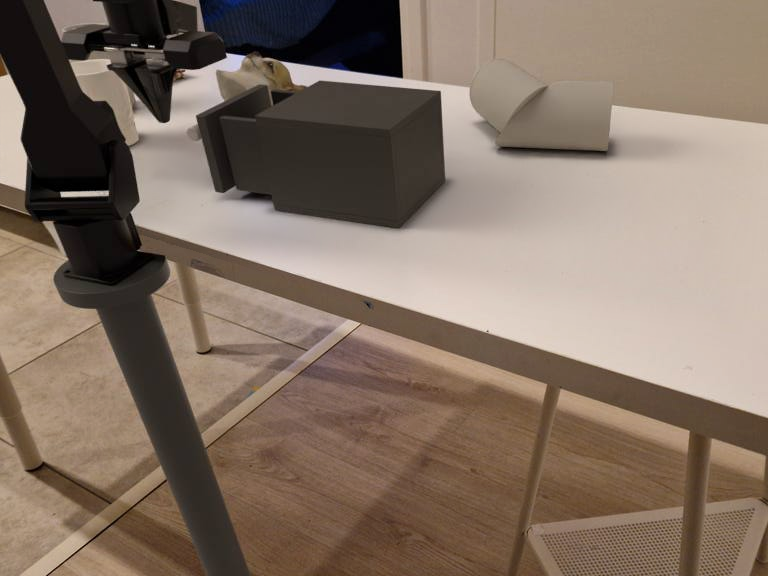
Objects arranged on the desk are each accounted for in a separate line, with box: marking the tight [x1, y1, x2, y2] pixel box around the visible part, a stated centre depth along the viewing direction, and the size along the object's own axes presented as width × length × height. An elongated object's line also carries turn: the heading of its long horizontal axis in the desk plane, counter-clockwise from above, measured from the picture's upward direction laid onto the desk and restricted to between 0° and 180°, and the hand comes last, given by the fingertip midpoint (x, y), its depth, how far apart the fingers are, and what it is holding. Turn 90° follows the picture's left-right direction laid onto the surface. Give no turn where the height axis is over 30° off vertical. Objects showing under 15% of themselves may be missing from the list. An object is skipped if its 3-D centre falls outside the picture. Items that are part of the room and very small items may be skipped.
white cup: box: [70, 59, 140, 147], centre depth 97 cm, size 8×8×10 cm
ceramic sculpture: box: [215, 51, 308, 107], centre depth 108 cm, size 11×9×15 cm
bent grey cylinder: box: [469, 58, 615, 152], centre depth 96 cm, size 18×11×20 cm
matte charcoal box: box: [255, 80, 446, 229], centre depth 81 cm, size 16×14×11 cm
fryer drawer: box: [186, 84, 297, 196], centre depth 84 cm, size 19×12×9 cm, turn 71°
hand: (164, 122), depth 87 cm, fingers closed
